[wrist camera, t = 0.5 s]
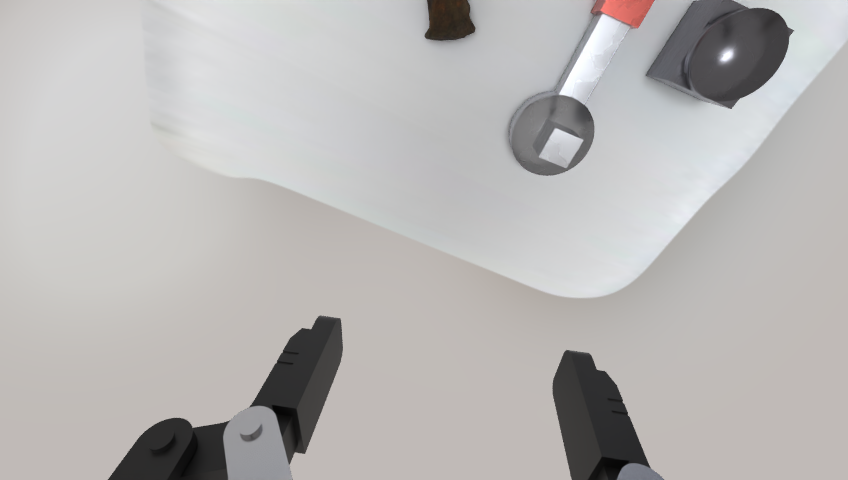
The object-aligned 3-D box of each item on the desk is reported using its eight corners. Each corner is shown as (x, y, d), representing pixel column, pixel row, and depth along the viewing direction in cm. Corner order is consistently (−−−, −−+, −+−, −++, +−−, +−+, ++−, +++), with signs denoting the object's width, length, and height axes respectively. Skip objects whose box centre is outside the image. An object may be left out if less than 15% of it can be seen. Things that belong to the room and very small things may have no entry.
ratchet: (643, -147, 24) (690, -196, 19) (731, -102, 25) (800, -137, 20) (496, 150, 35) (500, 171, 30) (559, 177, 36) (575, 201, 31)
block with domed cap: (693, -1, 28) (736, -8, 23) (756, 29, 28) (810, 29, 24) (643, 75, 31) (673, 83, 26) (702, 102, 31) (741, 113, 27)
